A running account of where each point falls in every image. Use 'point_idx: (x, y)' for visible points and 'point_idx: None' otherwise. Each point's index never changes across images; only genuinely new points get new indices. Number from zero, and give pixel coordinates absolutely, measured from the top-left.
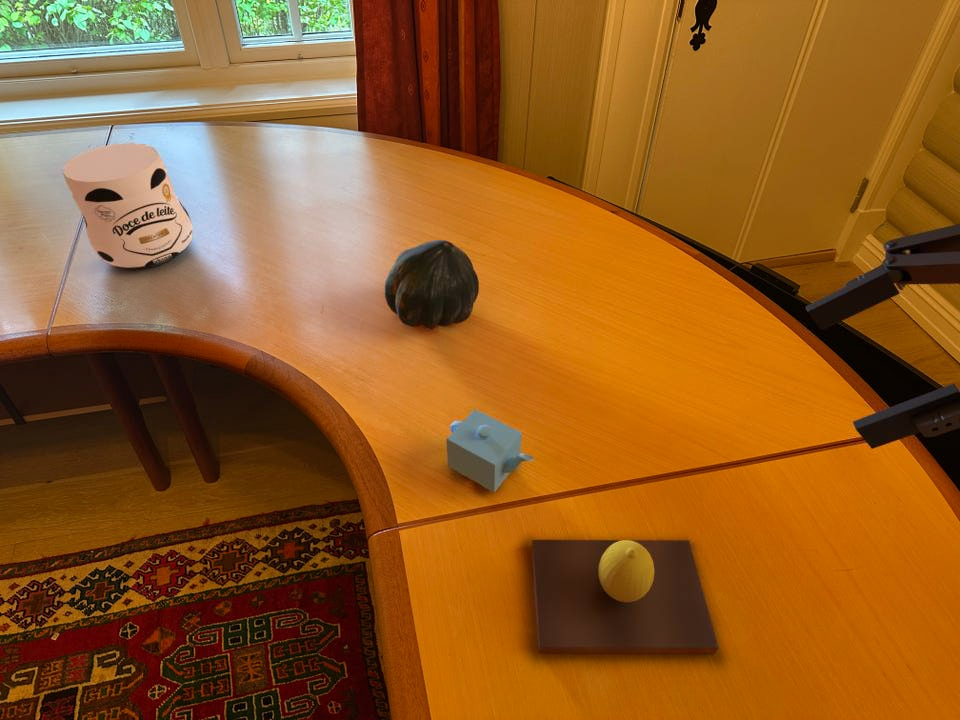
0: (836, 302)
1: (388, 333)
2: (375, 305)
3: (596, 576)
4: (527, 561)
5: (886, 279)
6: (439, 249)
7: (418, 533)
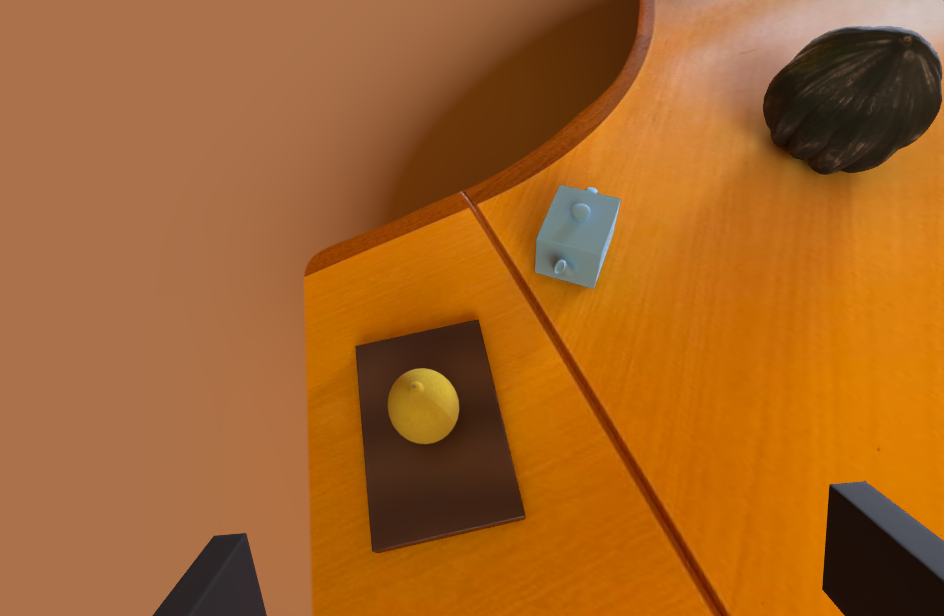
0: (919, 587)
1: (746, 115)
2: None
3: None
4: None
5: None
6: (888, 38)
7: (469, 223)
